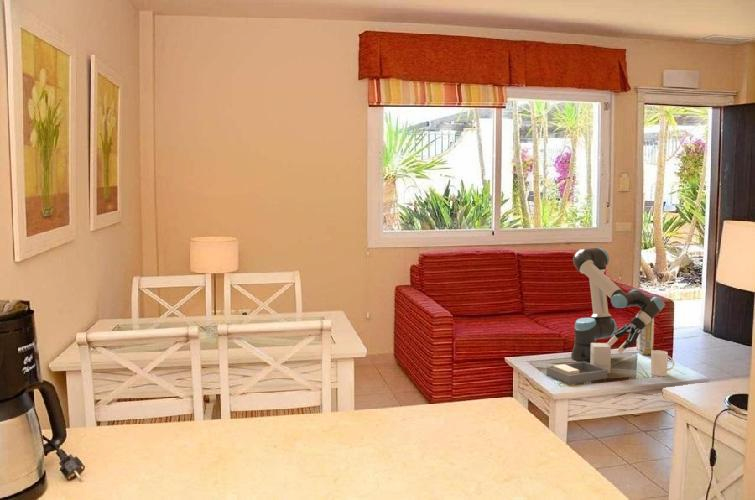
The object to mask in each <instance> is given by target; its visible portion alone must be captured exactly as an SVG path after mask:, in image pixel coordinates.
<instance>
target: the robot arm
mask: <svg viewBox="0 0 755 500" xmlns="http://www.w3.org/2000/svg"><path fill="white" fill-rule="evenodd" d="M609 255H610V254H609V253H608V252H607V251H606V250H605V249H604V248H601V247H592V248H590V247H589V248H581V249H578V250H577V251H575V252H574V254H573V257H572V262H573V265H574V267H575V269H576V270H577V271H578V272H579V273H581V274H584V275H585V276H586V277H587V278H588V279H589V289H590V297H591V306H592V307H591V308H592V315H590V317H581V318H578V319H576V321H575V323H574V346H573V348H572V351H571V353H570V358H571V357H572V358H573V359H572V358H571V359H572V360H574V361H578V362H587V363H590V353H591V343H596V340H601V339H608V338H610V339H609V341H607V342H606V343H607V344H608V345H609V346H610V347H611V348H612V346H613V345H614V344H615V343H616V342H617V341H618V340H619V338H621V337H622V336H625V335H628V337H627V340H625V341H624V342H623V343H622V344H621V345H620V346H619V347H618V348H617V349H616V351H617V352H618V353H619V354H622V353H623V352H624V351H626V349H627V348H628V347H629V346H631V345H632V346H634V345H635V344H636V342H637V338H638V336H639V334H640V333H641V332H642V331H641V330H642V329H643V328H644V327H645V326H646V325H647V324H648V323H649V322H650V321H651V320H652V319H653V318H655V317H656V316H657V315H658V314H659V313H660V312H661V311H662V310H663V309H664V308H665V306H666V303H665V302H664V301H663V300H662V299H661V298H660V297H658V296H652V297H650V296H648V295H647V294H646V293H643V292H642V291H641V290H639V289H637V288H633V289H631V290H629V291H628V292H624V291H623V290H622V289H621V288H620V287H619V286H618V284H617V285H616V283H615V282H614V281H612V280H611V279H610V278H609V277H608V275H606V274H605V272H606V270H607V266H608V265H609V263H610V256H609ZM608 298H609V299H610V303H611V305H612V307H613V308H616V309H624V308H630V307H638V308H640V310H639V311H638V312H637V313H636V314H635V316H634V317H632V319H631V320H630V323H628V322H626V323H625V325H622V327H620V328H619V329H618V327H617V326H618V325H617V323H616V321H615V319H614V318H612V315H611V314H610V313H609V307H608V300H607V299H608ZM645 324H646V325H645Z"/></svg>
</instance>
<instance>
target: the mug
mask: <svg viewBox="0 0 755 500" xmlns="http://www.w3.org/2000/svg"><path fill="white" fill-rule="evenodd" d="M668 354H669V353H668V351H664V350H660V349H658V350H657V349H656V350H655V349H653V351H651V355H650V356H651V358H650V359H651V360H650V372H649V373H650V374H651V375H653V376H657V377H666V376H668V371H671V370H672V369H673V368H674V366H675V361H674V359H673V358H672V357H671V356H669V355H668ZM668 359H670V360H671V361H672V366H671V367H668Z"/></svg>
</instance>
